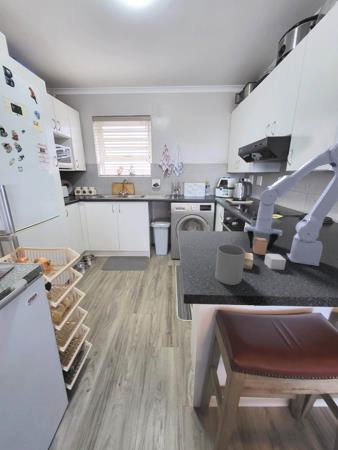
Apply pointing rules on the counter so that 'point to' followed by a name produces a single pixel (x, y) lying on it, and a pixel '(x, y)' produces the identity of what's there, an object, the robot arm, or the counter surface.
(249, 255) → the oak base block
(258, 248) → the terracotta block
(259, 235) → the teal round container
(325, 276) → the counter surface
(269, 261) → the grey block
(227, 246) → the cup
